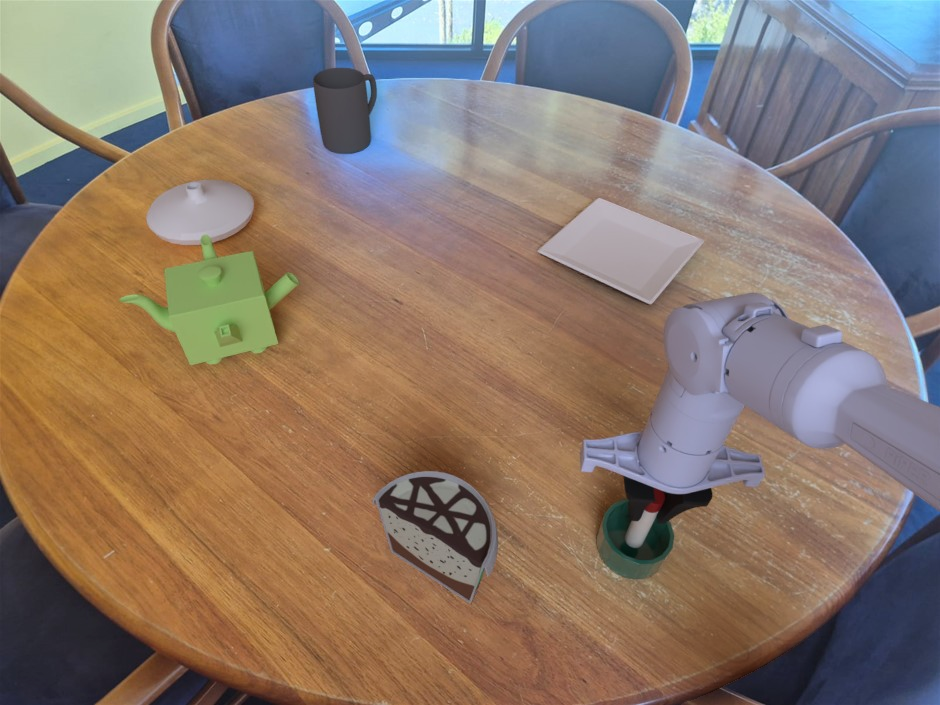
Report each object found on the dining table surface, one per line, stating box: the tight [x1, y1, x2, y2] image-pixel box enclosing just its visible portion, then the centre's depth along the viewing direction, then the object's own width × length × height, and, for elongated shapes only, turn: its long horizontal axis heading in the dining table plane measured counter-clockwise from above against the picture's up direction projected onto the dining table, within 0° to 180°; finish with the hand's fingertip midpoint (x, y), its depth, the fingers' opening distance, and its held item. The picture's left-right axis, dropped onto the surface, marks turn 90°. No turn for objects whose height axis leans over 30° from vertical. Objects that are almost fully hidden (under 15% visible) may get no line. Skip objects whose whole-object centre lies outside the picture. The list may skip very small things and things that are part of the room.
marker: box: [625, 488, 665, 548], centre depth 58 cm, size 2×2×8 cm
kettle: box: [118, 235, 300, 366], centre depth 77 cm, size 15×14×11 cm
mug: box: [312, 67, 378, 155], centre depth 113 cm, size 14×9×12 cm
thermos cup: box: [596, 498, 676, 580], centre depth 61 cm, size 7×7×4 cm
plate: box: [537, 197, 705, 306], centre depth 94 cm, size 19×19×2 cm
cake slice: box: [371, 470, 499, 605], centre depth 58 cm, size 12×6×10 cm, turn 58°
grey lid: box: [145, 179, 255, 246], centre depth 95 cm, size 16×16×7 cm
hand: (646, 512), depth 57 cm, fingers closed on marker, 2 cm apart
